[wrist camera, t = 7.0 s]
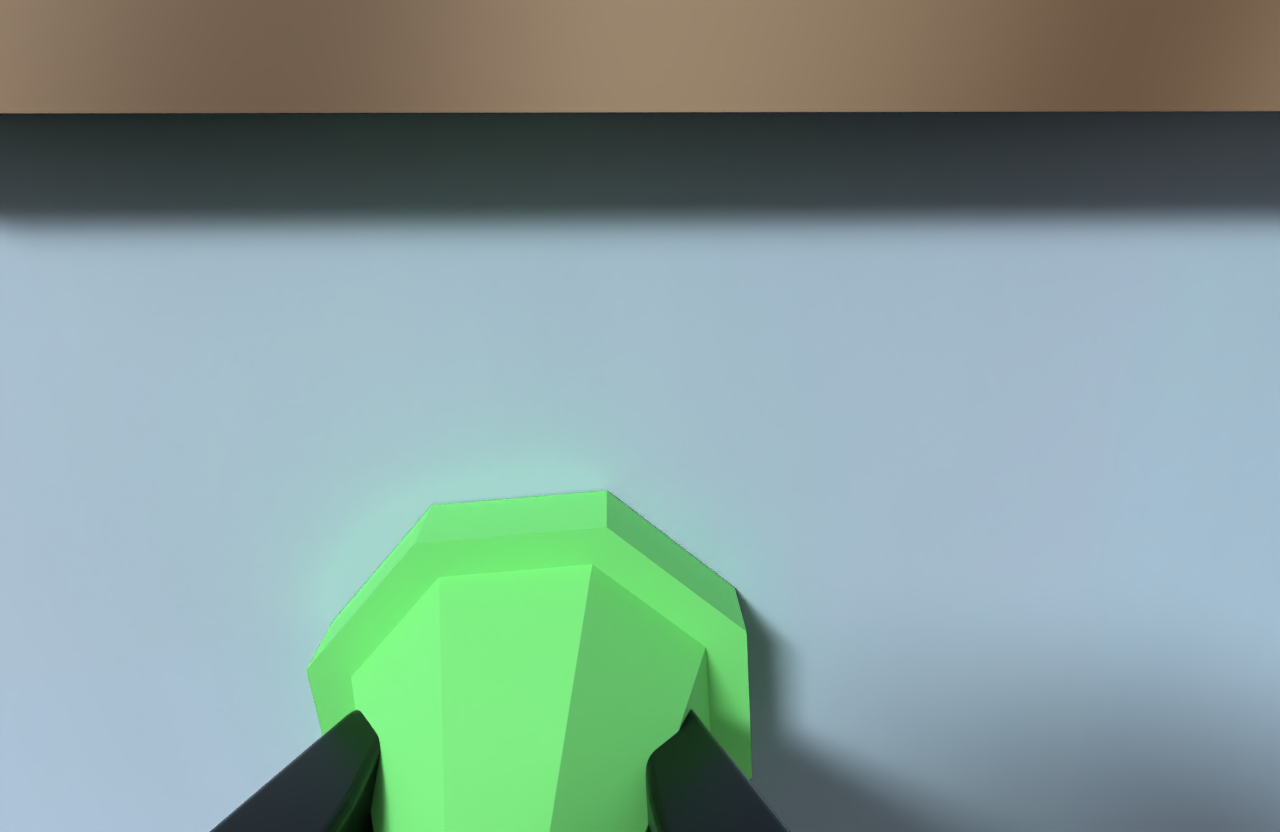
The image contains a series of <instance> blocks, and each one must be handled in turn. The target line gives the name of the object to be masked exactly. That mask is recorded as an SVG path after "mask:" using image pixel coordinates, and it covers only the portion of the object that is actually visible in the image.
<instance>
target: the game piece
mask: <svg viewBox="0 0 1280 832" xmlns="http://www.w3.org/2000/svg"><path fill="white" fill-rule="evenodd" d="M307 674H308V678H309V682H310V686H311V690H312V694H313V698H314V702H315V707H316V711H317V715H318V719H319V723H320V727H321V731H322V735H324V734H325V733H326V732H328V731H329V730H330V729H331V728H332V727H333V726H335V725H336V724H337V723H338V722H339V721H340V720H342V719H343V718H344V717H345V716H346V715H348V714H349V713H350V712H352V711H354V710H359V711H361V712H362V714H363V715H364V716H365V718H366V719H367V721H368V722H369V723H370V725H371V726H372V728H373V729H374V730H375V732H376V733H377V735H378V737H379V741H380V758H379V764H378V770H377V776H376V782H375V788H374V794H373V800H372V806H371V818H372V825H373V831H374V832H648V812H647V798H646V765H647V762H648V759H649V757H650V755H651V754H652V753H653V752H654V751H655V750H656V749H657V748H658V747H660V746H661V745H662V744H663V743H665V742H666V741H667V740H668V739H670V738H671V737H672V736H673V735H675V734H676V733H677V732H678V731H679V729H680V727H681V726H682V724H683V722H684V720H685V718H686V716H687V715H688V713H689V711H690V710H691V709H692V710H693V711H694V712H695V714H696V715H697V716H698V717H699V719H700V720H701V721H702V722H703V724H704V725H705V726H706V727H707V728H708V730H709V731H710V732H711V733H712V735H713V736H714V737H715V738H716V740H717V741H718V742H719V743H720V745H721V746H722V747H723V748H724V750H725V751H726V752H727V753H728V755H729V756H730V757H731V758H732V760H733V761H734V762H735V763H736V765H737V766H738V767H739V768H740V770H741V771H742V772H743V773H744V775H745V776H746V777H747V778H748V780H750V779H751V778H752V755H751V730H750V705H749V680H748V655H747V632H746V628H745V624H744V620H743V617H742V613H741V609H740V605H739V602H738V598H737V594H736V591H735V588H734V587H733V586H732V585H730V584H729V583H728V582H726V581H725V580H724V579H722V578H721V577H720V576H718V575H717V574H716V573H715V572H713V571H712V570H711V569H709V568H708V567H707V566H705V565H704V564H703V563H701V562H700V561H699V560H697V559H696V558H695V557H694V556H692V555H691V554H690V553H688V552H687V551H686V550H684V549H683V548H682V547H680V546H679V545H678V544H677V543H675V542H674V541H673V540H671V539H670V538H669V537H667V536H666V535H665V534H663V533H662V532H661V531H659V530H658V529H657V528H656V527H654V526H653V525H652V524H650V523H649V522H648V521H646V520H645V519H644V518H642V517H641V516H640V515H638V514H637V513H636V512H635V511H633V510H632V509H631V508H629V507H628V506H627V505H625V504H624V503H623V502H621V501H620V500H619V499H617V498H616V497H615V496H614V495H612V494H611V493H610V492H608V491H607V490H605V491H593V492H581V493H569V494H557V495H545V496H534V497H522V498H510V499H498V500H486V501H474V502H462V503H450V504H438V505H432V506H431V507H430V508H429V509H428V510H427V511H426V513H425V514H424V515H423V516H422V517H421V518H420V520H419V521H418V522H417V523H416V524H415V525H414V527H413V528H412V529H411V530H410V531H409V533H408V534H407V535H406V536H405V537H404V538H403V540H402V541H401V542H400V543H399V544H398V545H397V547H396V548H395V549H394V550H393V551H392V553H391V554H390V555H389V556H388V557H387V558H386V560H385V561H384V562H383V563H382V564H381V565H380V567H379V568H378V569H377V570H376V571H375V572H374V574H373V575H372V576H371V577H370V578H369V580H368V581H367V582H366V583H365V584H364V585H363V587H362V588H361V589H360V590H359V591H358V592H357V594H356V595H355V596H354V597H353V598H352V599H351V601H350V602H349V603H348V604H347V605H346V607H345V608H344V609H343V610H342V611H341V612H340V614H339V615H338V616H337V617H336V618H335V619H334V621H333V622H332V623H331V625H330V627H329V629H328V631H327V633H326V634H325V636H324V638H323V640H322V642H321V644H320V646H319V647H318V649H317V651H316V653H315V655H314V657H313V658H312V660H311V662H310V664H309V666H308V668H307Z"/></svg>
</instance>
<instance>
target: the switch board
mask: <svg viewBox="0 0 1280 832" xmlns="http://www.w3.org/2000/svg"><path fill="white" fill-rule="evenodd" d="M1179 111H1280V0H0V114H40V113H610V112H1179Z"/></svg>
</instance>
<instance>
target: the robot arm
mask: <svg viewBox="0 0 1280 832" xmlns="http://www.w3.org/2000/svg"><path fill="white" fill-rule="evenodd" d="M379 758H380V741H379V737H378V735H377V733H376V732H375V730H374V729H373V728H372V726H371V725H370V723H369V722H368V721H367V719H366V718H365V716H364V715H363V714H362V712H361V711H359V710H354V711H352V712H350V713H349V714H348V715H346V716H345V717H344V718H343V719H342V720H340V721H339V722H338V723H337V724H336V725H335V726H333V727H332V728H331V729H330V730H329V731H328V732H326V733H325V734H324V735H323V736H322V737H320V738H319V739H318V740H317V741H316V742H315V743H313V744H312V745H311V746H310V747H309V748H308V749H306V750H305V751H304V752H303V753H302V754H300V755H299V756H298V757H297V758H296V759H295V760H293V761H292V762H291V763H290V764H289V765H288V766H286V767H285V768H284V769H283V770H282V771H281V772H279V773H278V774H277V775H276V776H275V777H273V778H272V779H271V780H270V781H269V782H268V783H266V784H265V785H264V786H263V787H262V788H261V789H259V790H258V791H257V792H256V793H255V794H253V795H252V796H251V797H250V798H249V799H248V800H246V801H245V802H244V803H243V804H242V805H241V806H239V807H238V808H237V809H236V810H235V811H234V812H232V813H231V814H230V815H229V816H228V817H226V818H225V819H224V820H223V821H222V822H221V823H219V824H218V825H217V826H216V827H215V828H214V829H212V830H211V831H210V832H374V831H373V825H372V818H371V806H372V800H373V794H374V788H375V782H376V776H377V770H378V764H379ZM646 798H647V812H648V832H790V831H789V830H788V828H787V827H786V826H785V825H784V823H783V822H782V821H781V820H780V818H779V817H778V816H777V815H776V813H775V812H774V811H773V810H772V808H771V807H770V806H769V805H768V803H767V802H766V801H765V800H764V798H763V797H762V796H761V795H760V793H759V792H758V791H757V790H756V788H755V787H754V786H753V785H752V783H751V782H750V781H749V780H748V778H747V777H746V776H745V775H744V773H743V772H742V771H741V770H740V768H739V767H738V766H737V765H736V763H735V762H734V761H733V760H732V758H731V757H730V756H729V755H728V753H727V752H726V751H725V750H724V748H723V747H722V746H721V745H720V743H719V742H718V741H717V740H716V738H715V737H714V736H713V735H712V733H711V732H710V731H709V730H708V728H707V727H706V726H705V725H704V724H703V722H702V721H701V720H700V719H699V717H698V716H697V715H696V714H695V712H694V711H693V710H692V709H691V710H690V711H689V713H688V715H687V716H686V718H685V720H684V722H683V724H682V726H681V727H680V729H679V731H678V732H677V733H676V734H675V735H673V736H672V737H671V738H670V739H668V740H667V741H666V742H665V743H663V744H662V745H661V746H660V747H658V748H657V749H656V750H655V751H654V752H653V753H652V754H651V755H650V757H649V759H648V762H647V765H646Z"/></svg>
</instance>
